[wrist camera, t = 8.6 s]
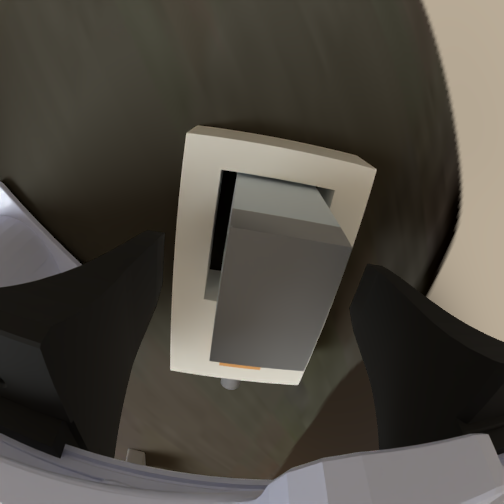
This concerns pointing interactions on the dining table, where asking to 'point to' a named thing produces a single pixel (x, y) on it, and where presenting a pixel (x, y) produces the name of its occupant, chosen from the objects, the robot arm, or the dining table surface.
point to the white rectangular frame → (204, 221)
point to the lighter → (136, 457)
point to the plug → (276, 274)
